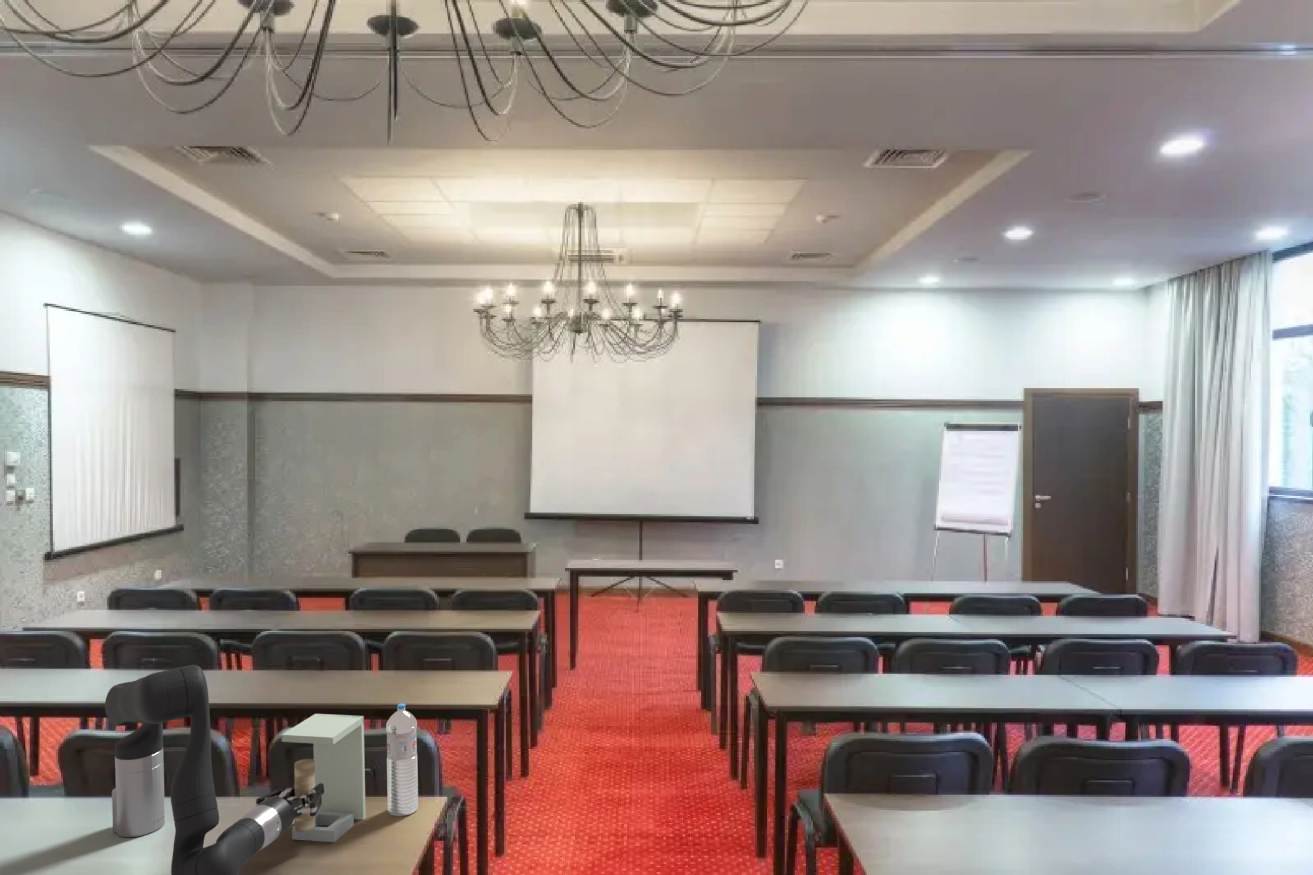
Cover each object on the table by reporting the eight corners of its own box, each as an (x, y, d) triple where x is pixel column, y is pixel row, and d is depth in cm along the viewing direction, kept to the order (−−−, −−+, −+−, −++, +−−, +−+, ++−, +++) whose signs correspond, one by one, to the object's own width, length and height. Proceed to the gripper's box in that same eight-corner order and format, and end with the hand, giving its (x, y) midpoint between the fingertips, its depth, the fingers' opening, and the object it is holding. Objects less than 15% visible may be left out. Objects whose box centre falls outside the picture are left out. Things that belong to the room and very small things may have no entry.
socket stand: (283, 842, 183) (281, 734, 182) (317, 814, 195) (315, 713, 195) (335, 846, 181) (333, 737, 180) (365, 817, 194) (363, 716, 193)
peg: (291, 831, 179) (290, 765, 178) (302, 822, 183) (301, 758, 182) (308, 832, 178) (308, 766, 178) (319, 824, 182) (318, 759, 182)
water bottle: (409, 818, 193) (407, 710, 192) (382, 816, 194) (380, 708, 194) (423, 805, 200) (421, 700, 199) (396, 802, 201) (395, 698, 200)
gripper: (295, 808, 165) (342, 771, 182) (229, 803, 167) (282, 767, 184) (296, 846, 165) (342, 806, 182) (230, 840, 167) (282, 801, 184)
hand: (312, 787), depth 183 cm, fingers closed on peg, 4 cm apart
